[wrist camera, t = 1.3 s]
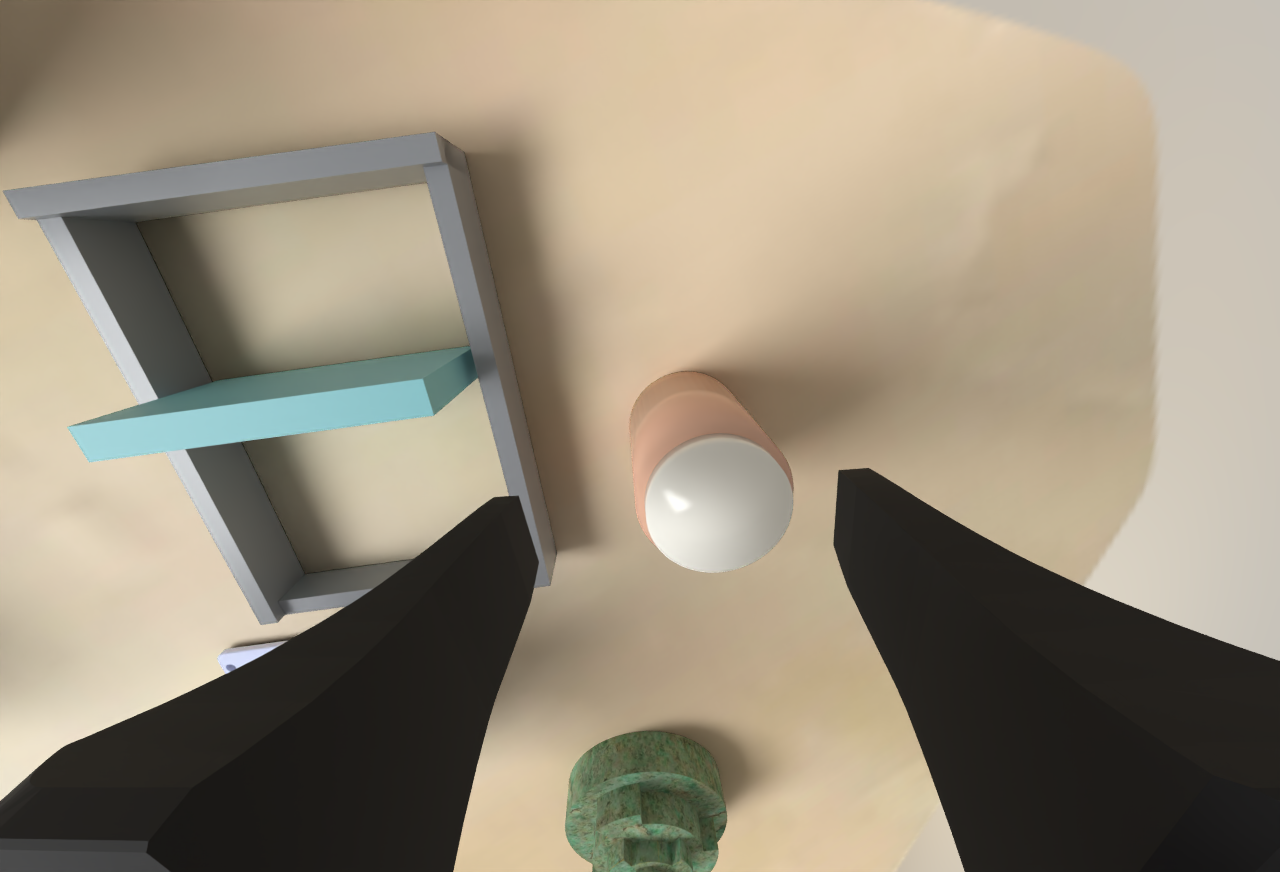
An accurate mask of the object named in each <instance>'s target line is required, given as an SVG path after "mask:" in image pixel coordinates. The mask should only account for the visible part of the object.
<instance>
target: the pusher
mask: <svg viewBox="0 0 1280 872" xmlns="http://www.w3.org/2000/svg"><path fill="white" fill-rule="evenodd" d="M477 378H478V375H477V371H476V367H475V363H474V359H473V356H472V352H471V348H470V346H466V347H459V348H451V349H444V350H437V351H429V352H422V353H415V354H407V355H400V356H393V357H385V358H378V359H370V360H363V361H356V362H348V363H341V364H334V365H326V366H319V367H312V368H304V369H297V370H290V371H282V372H275V373H267V374H260V375H253V376H245V377H238V378H231V379H223V380H218V381H215V382H211V383H208V384H205V385H202V386H198V387H195V388H192V389H189V390H185V391H182V392H179V393H176V394H172V395H169V396H166V397H163V398H159V399H156V400H153V401H150V402H147V403H143V404H140V405H137V406H134V407H130V408H127V409H124V410H121V411H117V412H114V413H111V414H108V415H104V416H101V417H98V418H95V419H91V420H88V421H85V422H82V423H78V424H75V425H72V426H69V427H67V428H68V429H69V431H70V432H71V434H72V436H73V437H74V439H75V440H76V442H77V444H78V445H79V447H80V448H81V450H82V452H83V453H84V455H85V456H86V458H87V460H88V461H89V462H95V461H102V460H110V459H117V458H124V457H132V456H139V455H147V454H154V453H161V452H169V451H176V450H183V449H191V448H198V447H205V446H213V445H220V444H227V443H235V442H242V441H250V440H257V439H264V438H272V437H279V436H286V435H294V434H301V433H308V432H316V431H323V430H330V429H338V428H345V427H353V426H360V425H367V424H375V423H382V422H389V421H397V420H404V419H411V418H419V417H426V416H433V415H435V414H436V413H437V412H439V411H440V410H441V409H442V408H443V407H444V406H445V405H447V404H448V403H449V402H450V401H451V400H452V399H454V398H455V397H456V396H457V395H458V394H459V393H460V392H462V391H463V390H464V389H465V388H466V387H467V386H469V385H470V384H471V383H472V382H473V381H474V380H475V379H477Z"/></svg>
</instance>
